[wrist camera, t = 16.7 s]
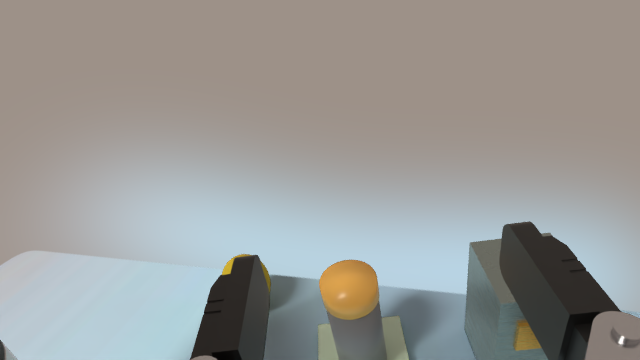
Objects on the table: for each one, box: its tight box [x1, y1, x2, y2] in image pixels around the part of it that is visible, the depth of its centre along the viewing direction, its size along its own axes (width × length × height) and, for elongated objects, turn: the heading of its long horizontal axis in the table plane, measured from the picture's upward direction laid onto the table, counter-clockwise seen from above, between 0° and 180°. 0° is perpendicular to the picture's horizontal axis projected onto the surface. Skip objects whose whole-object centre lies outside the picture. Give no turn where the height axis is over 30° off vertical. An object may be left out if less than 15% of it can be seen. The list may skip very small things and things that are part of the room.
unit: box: [465, 233, 552, 360], centre depth 36 cm, size 7×8×13 cm
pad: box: [318, 316, 409, 360], centre depth 40 cm, size 9×9×1 cm
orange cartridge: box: [319, 260, 387, 360], centre depth 37 cm, size 5×5×11 cm
